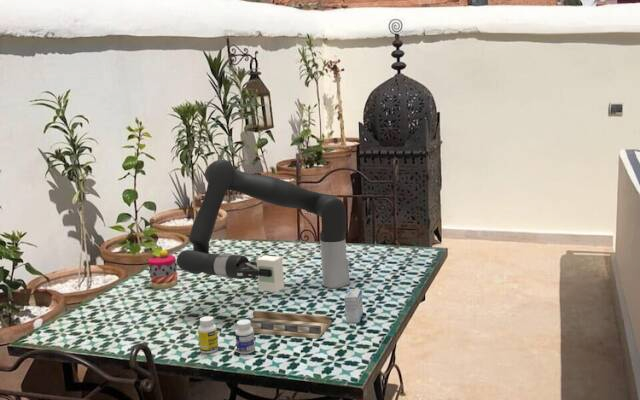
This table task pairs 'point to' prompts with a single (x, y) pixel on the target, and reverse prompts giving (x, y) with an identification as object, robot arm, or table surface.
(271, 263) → the carton
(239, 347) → the pill bottle
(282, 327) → the shelf ledge
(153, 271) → the cake
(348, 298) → the medicine box
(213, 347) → the supplement bottle
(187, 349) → the table surface
